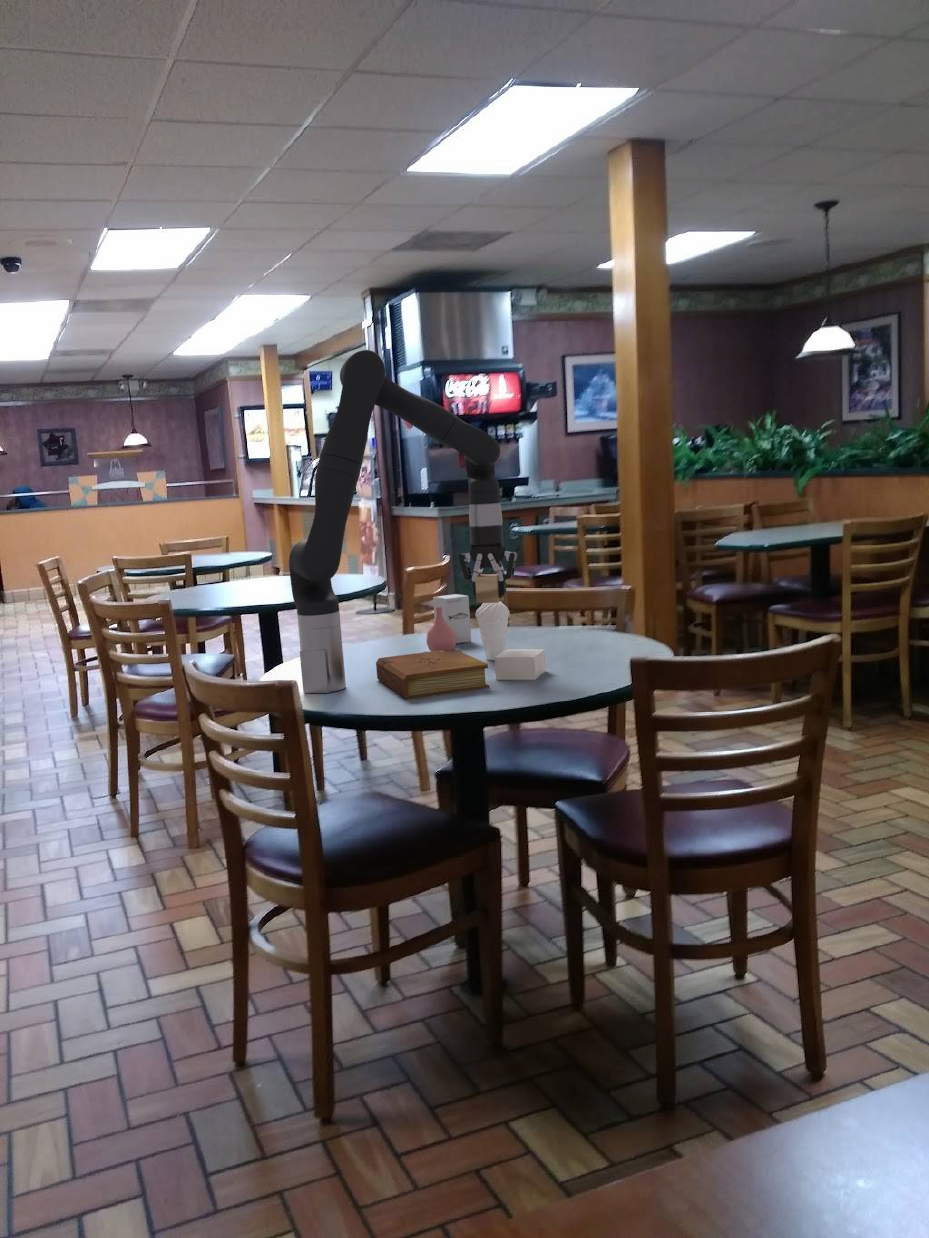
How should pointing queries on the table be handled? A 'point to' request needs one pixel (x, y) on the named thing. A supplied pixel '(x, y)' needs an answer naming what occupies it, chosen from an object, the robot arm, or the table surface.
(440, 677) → the diary
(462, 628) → the supplement box
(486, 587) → the oak block
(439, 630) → the pink vase
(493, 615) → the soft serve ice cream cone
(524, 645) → the table surface
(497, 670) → the plinth
